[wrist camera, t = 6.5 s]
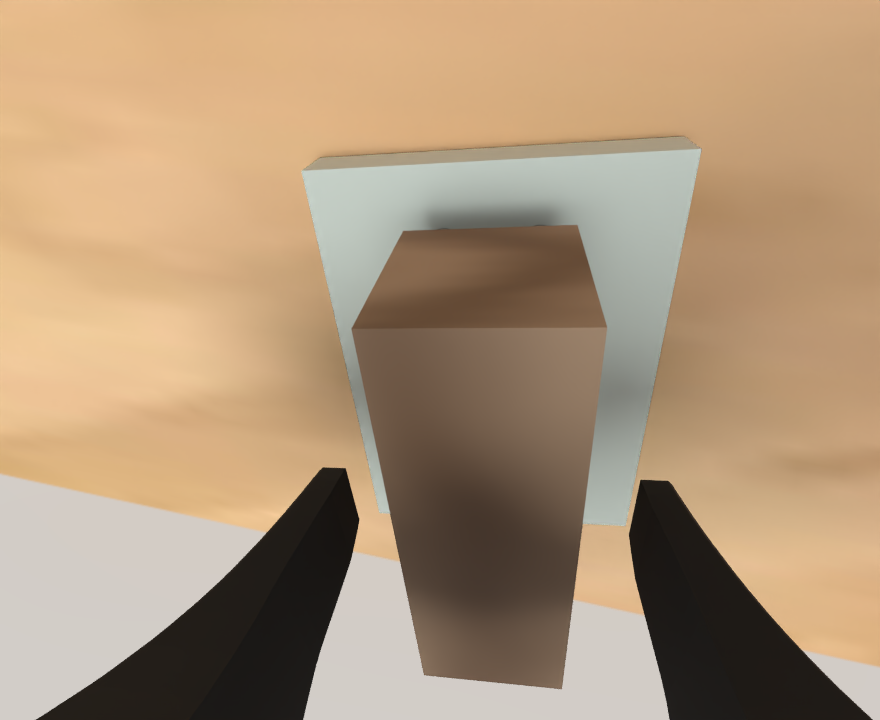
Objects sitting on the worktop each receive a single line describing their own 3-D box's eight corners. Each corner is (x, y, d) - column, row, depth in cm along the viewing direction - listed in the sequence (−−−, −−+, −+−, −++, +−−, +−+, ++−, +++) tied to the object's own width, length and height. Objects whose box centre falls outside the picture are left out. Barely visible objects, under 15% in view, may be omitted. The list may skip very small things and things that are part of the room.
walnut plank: (577, 224, 11) (607, 328, 7) (552, 550, 18) (561, 689, 14) (403, 230, 12) (351, 328, 8) (442, 543, 18) (424, 675, 15)
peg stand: (684, 136, 13) (731, 170, 10) (619, 495, 21) (635, 572, 18) (319, 157, 14) (271, 192, 12) (387, 485, 22) (368, 554, 19)
